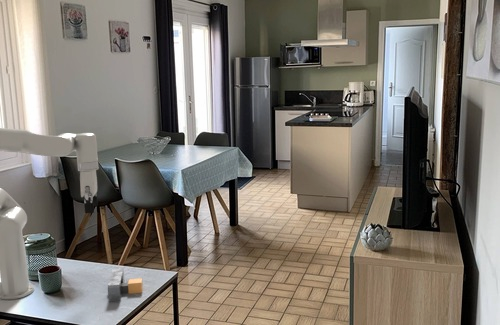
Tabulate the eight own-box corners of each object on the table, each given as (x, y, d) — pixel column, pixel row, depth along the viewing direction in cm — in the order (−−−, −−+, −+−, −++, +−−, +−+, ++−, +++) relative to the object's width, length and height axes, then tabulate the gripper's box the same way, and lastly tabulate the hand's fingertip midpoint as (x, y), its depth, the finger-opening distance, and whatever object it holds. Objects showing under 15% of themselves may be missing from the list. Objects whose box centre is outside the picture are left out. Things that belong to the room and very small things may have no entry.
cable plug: (108, 295, 187) (107, 285, 187) (109, 290, 191) (108, 281, 191) (142, 292, 189) (141, 282, 188) (142, 288, 193) (142, 278, 192)
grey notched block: (109, 302, 182) (107, 285, 180) (114, 284, 197) (112, 268, 196) (120, 301, 182) (119, 284, 181) (124, 283, 198) (123, 267, 197)
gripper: (81, 162, 197) (85, 204, 201) (73, 170, 181) (77, 216, 184) (101, 161, 199) (104, 203, 202) (94, 169, 182) (98, 215, 185)
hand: (91, 209), depth 193 cm, fingers open, 9 cm apart
